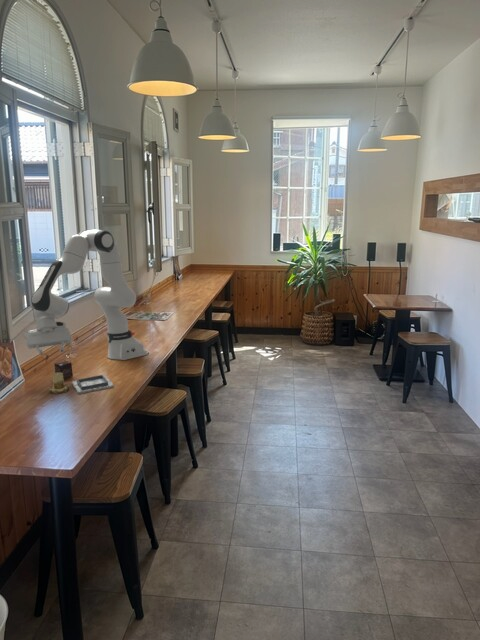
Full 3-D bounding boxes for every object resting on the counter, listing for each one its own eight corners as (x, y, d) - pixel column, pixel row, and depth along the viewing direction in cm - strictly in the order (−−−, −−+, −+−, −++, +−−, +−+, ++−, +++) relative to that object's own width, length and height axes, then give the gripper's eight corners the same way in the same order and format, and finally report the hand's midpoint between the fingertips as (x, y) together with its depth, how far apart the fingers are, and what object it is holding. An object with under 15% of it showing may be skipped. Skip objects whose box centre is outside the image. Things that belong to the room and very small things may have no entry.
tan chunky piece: (68, 385, 227) (66, 369, 225) (71, 391, 220) (69, 374, 218) (48, 389, 223) (46, 373, 221) (50, 395, 216) (48, 378, 214)
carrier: (105, 377, 237) (105, 372, 237) (113, 387, 224) (113, 382, 223) (72, 383, 230) (71, 379, 230) (78, 394, 216) (77, 389, 216)
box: (66, 373, 244) (65, 360, 243) (73, 376, 241) (71, 362, 239) (55, 377, 240) (53, 363, 238) (62, 379, 236) (60, 365, 234)
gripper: (23, 327, 228) (27, 352, 222) (68, 322, 237) (74, 345, 231) (23, 335, 233) (28, 359, 226) (67, 329, 242) (73, 352, 236)
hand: (51, 352), depth 229 cm, fingers open, 8 cm apart
